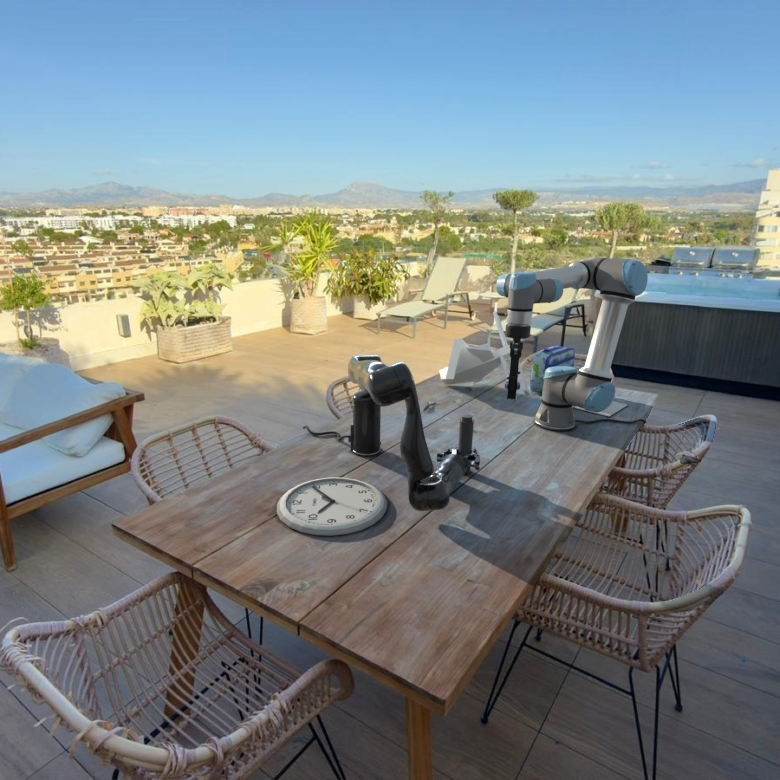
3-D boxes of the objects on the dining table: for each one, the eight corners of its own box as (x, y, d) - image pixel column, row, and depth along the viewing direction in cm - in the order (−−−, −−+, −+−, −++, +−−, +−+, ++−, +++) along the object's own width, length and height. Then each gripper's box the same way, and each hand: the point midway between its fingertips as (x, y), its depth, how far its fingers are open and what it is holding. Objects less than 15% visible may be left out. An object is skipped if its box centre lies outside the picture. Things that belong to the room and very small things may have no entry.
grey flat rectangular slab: (608, 416, 214) (573, 407, 224) (608, 416, 214) (573, 408, 224) (628, 404, 229) (594, 396, 238) (628, 405, 229) (594, 397, 238)
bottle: (454, 471, 164) (457, 415, 158) (461, 467, 167) (465, 412, 161) (465, 475, 161) (469, 419, 156) (472, 471, 164) (476, 415, 159)
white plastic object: (461, 429, 252) (437, 405, 227) (444, 352, 274) (420, 323, 250) (535, 404, 240) (518, 377, 215) (510, 326, 262) (492, 293, 237)
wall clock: (392, 527, 129) (268, 531, 127) (391, 533, 130) (269, 537, 127) (383, 473, 158) (282, 475, 155) (383, 478, 158) (282, 480, 156)
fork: (420, 411, 216) (420, 406, 216) (430, 400, 230) (431, 395, 230) (426, 412, 215) (426, 407, 215) (436, 401, 230) (436, 396, 229)
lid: (518, 386, 168) (519, 381, 168) (521, 390, 164) (521, 385, 163) (503, 385, 169) (504, 380, 168) (505, 389, 164) (506, 384, 164)
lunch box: (546, 399, 235) (551, 353, 228) (525, 393, 242) (530, 349, 236) (574, 387, 252) (579, 345, 246) (553, 383, 260) (558, 341, 253)
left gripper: (474, 464, 146) (490, 442, 161) (426, 454, 152) (446, 434, 166) (472, 488, 148) (488, 465, 163) (426, 478, 154) (445, 456, 169)
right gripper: (507, 318, 169) (501, 387, 176) (504, 328, 153) (497, 403, 160) (531, 320, 168) (523, 389, 174) (531, 329, 151) (523, 406, 158)
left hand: (467, 449), depth 165 cm, fingers closed on bottle, 4 cm apart
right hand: (511, 396), depth 167 cm, fingers closed on lid, 5 cm apart
